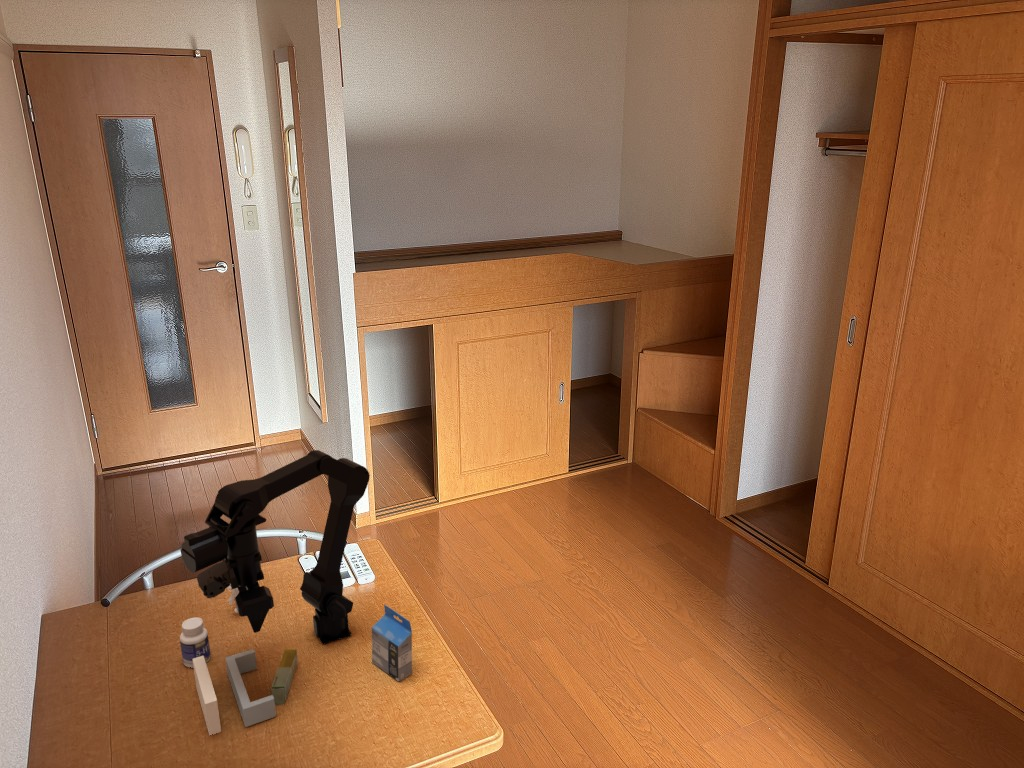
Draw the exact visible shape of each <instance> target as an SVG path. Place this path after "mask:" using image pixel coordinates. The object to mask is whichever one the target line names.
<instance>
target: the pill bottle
mask: <svg viewBox="0 0 1024 768" xmlns="http://www.w3.org/2000/svg"><path fill="white" fill-rule="evenodd" d="M181 630H182V631H181V634H179V643H180V649H181V650H180V651H181V658H182V663H183V665H184V666H185V667H187V668H190V667H191V669H192V668H193V669H194V666H193V658H197V657H200V656H204V659H205V662H206V664H207V663H208V662H209V661H210V659H211V649H210V641H209V633H208V629H206V628H205V626H204V621H203V619H202V618H201V617H191V618H187V619H186V620H184V621H183V622H182V624H181Z"/></svg>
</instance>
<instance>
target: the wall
mask: <svg viewBox="0 0 1024 768" xmlns="http://www.w3.org/2000/svg"><path fill="white" fill-rule="evenodd" d="M193 666H194V668H193V673H194V679H195V686H196V687H195V688H196V691H197V695H198V699H199V703H200V706H201V709H202V714H203V717H204V721H205V724H206V728H207V732H208V734H209V737H211V736H213V735H216V733H217V734H219V733H222V727H221V721H220V713H219V704H218V698H217V696H216V693H215V689H214V686H213V682H212V679H211V675H210V672H209V669H208V665H207V663H206V662H205V659H204V656H200V657H197V658H193ZM212 734H213V735H212ZM210 735H211V736H210Z"/></svg>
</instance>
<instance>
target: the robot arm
mask: <svg viewBox="0 0 1024 768" xmlns="http://www.w3.org/2000/svg"><path fill="white" fill-rule="evenodd" d="M321 475H325V476H327V477H328V478H327V487H328V493H329V497H330V504H329V507H328V513H327V517H326V523H325V526H324V531H323V535H322V540H321V543H320V544H321V545H320V549H319V554H318V557H317V562H316V565H315V566H314V567H313V569H312V570H311V571H310V572H309V571H306V572H304V573H303V578H302V584H301V585H300V588H299V590H300V591H301V597H302V598H303V600H304V601H305V602H306V603H308V604H309V605H310V606H312V607H314V615H313V616H312V621H313V633H314V634H315V637H316V638H317V639H318V640H319V641H320V643H321V644H322V645H327V644H331V643H333V642H337V641H339V640H343V639H346V638H349V637H352V631H351V630H350V628H349V614H350V613H351V612H352V610H353V606H354V602H353V601H352V600H350V599H349V598H347V597H346V596H344V595H343V594H344V593H343V592H344V582H343V578H342V575H341V566H342V561H343V558H344V553H345V548H346V544H347V541H348V540H347V539H348V535H349V531H350V526H351V522H352V517H353V513H354V508H355V506H356V504H357V503H358V502H359V501H360V500H361V498H362V497H364V496H365V493H366V489H367V487H368V484H369V482H370V475H371V474H370V472H369V470H368V469H367V468H366V467H365V466H363V465H361V464H359V463H357V462H355V461H353V460H351V459H348V458H347V457H342V458H338V459H337V458H334V457H332V456H331V455H329V454H327V453H326V452H324V451H321V450H320V449H315V450H311V451H309V452H308V454H306V455H305V456H303V457H301V458H298V459H296V460H294V461H292V462H290V463H288V464H286V465H283V466H282V467H280V468H278V469H275V470H274V471H271V472H269V473H267V474H265V475H263V476H261V477H257V478H255V479H245V480H243V479H242V480H238V481H236V482H233V483H229V484H226V485H224V486H222V487H221V488H220V489H219V490H218V491H217V494H216V496H215V499H214V503H213V505H212V507H210V508H211V509H210V511H209V513H208V514H207V516H206V519H205V521H204V523H205V525H207V526H208V527H206V528H205V529H201V530H200V531H197V532H192V533H189V534H186V535H185V536H184V537H183V540H184V542H182V543H181V548H180V555H181V557H182V561H183V563H184V565H185V567H186V568H187V569H188V571H189V572H190V573H193V574H194V573H197V572H199V571H201V570H203V571H202V572H200V573H198V574H197V576H196V581H197V584H198V588H199V589H200V590H201V591H202V593H203V596H204V597H206V598H207V599H212V598H216V597H217V596H219V595H221V594H222V593H224V592H225V590H227V588H228V587H229V585H230V584H231V588H232V589H231V590H233V589H235V588H238V591H239V593H238V595H237V596H235V600H234V602H235V606H236V607H235V608H237V611H238V613H237V614H238V616H239V617H241V618H243V617H246V618H247V619H248V622H249V623H250V627H251V629H252V631H253V633H254V634H255V633H259V632H260V631H261V630H262V626H263V624H264V622H265V620H266V617H267V615H268V613H269V612H270V610H271V609H273V608H274V607H275V604H274V603H275V602H274V597H273V595H272V591H271V589H270V588H269V587H267V586H265V585H262V586H260V583H259V581H262V580H265V574H264V571H263V569H262V564H261V562H262V561H263V560H262V555H261V552H260V549H259V540H258V534H257V526H258V525H261V524H264V523H265V522H267V518H265V517H264V516H262V515H261V513H263V511H264V510H266V508H267V506H268V505H269V503H271V502H272V501H274V500H275V499H277V498H278V497H281V496H283V495H285V494H286V493H289V492H290V491H292V490H295V489H296V488H298V487H300V486H303V485H304V484H306V483H308V482H310V481H312V480H314V479H315V478H318V477H320V476H321ZM222 516H225V517H226V518H228V520H230V522H227V521H226V520H224V519H223V518H222ZM205 568H207V569H205Z"/></svg>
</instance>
